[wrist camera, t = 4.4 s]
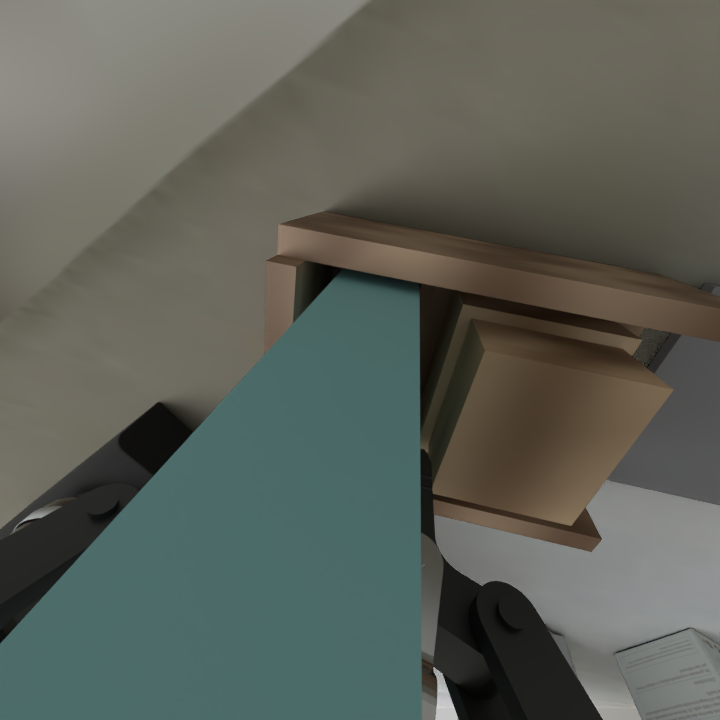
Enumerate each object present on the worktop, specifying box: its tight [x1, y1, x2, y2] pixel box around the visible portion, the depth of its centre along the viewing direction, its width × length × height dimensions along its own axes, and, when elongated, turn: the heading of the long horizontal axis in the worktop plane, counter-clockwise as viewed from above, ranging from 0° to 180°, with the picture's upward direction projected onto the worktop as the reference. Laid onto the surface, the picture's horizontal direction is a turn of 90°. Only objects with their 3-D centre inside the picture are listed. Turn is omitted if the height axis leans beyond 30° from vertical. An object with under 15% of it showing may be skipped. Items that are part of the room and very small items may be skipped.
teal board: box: [0, 268, 422, 720], centre depth 10 cm, size 3×9×15 cm, turn 171°
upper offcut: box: [428, 318, 674, 526], centre depth 14 cm, size 6×7×3 cm
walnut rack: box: [264, 211, 720, 552], centre depth 16 cm, size 16×12×7 cm
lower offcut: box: [420, 290, 642, 452], centre depth 16 cm, size 7×8×3 cm
